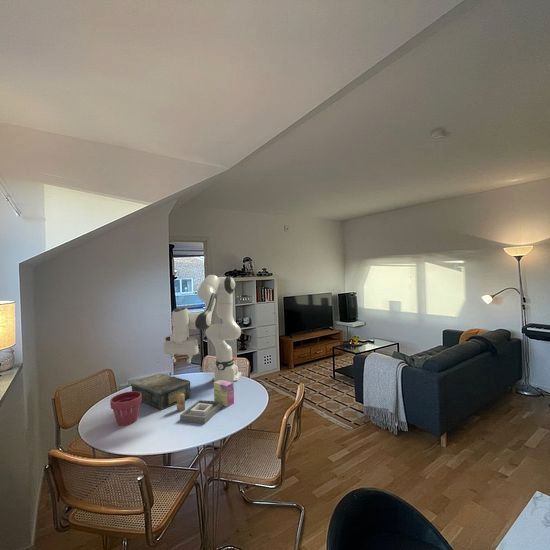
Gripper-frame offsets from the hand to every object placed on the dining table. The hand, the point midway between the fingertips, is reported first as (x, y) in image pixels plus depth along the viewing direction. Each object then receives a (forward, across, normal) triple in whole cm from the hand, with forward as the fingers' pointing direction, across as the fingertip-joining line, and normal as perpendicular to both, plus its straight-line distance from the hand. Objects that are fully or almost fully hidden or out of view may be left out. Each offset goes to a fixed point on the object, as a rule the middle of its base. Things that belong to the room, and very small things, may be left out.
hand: (181, 362), depth 159 cm
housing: (+26, -14, +2) cm, 29 cm away
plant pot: (+26, +20, +18) cm, 38 cm away
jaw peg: (+26, 0, 0) cm, 26 cm away
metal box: (+26, +22, -11) cm, 36 cm away
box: (+25, -20, -12) cm, 34 cm away
